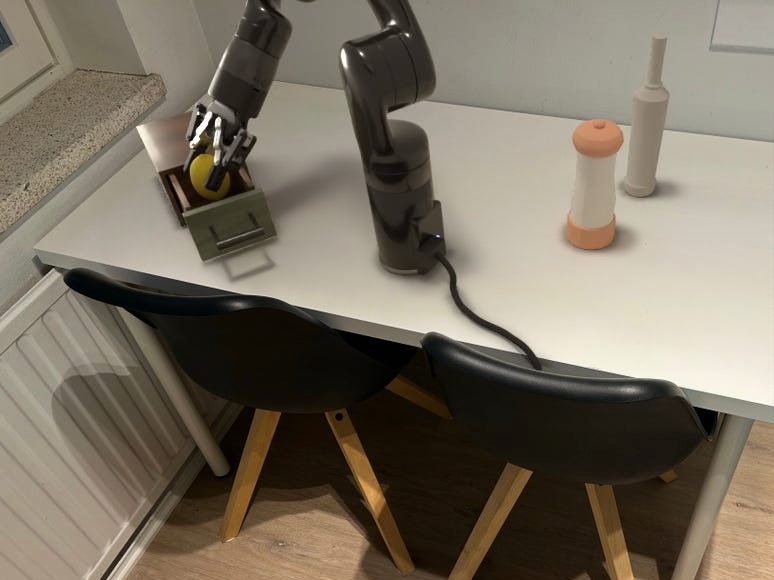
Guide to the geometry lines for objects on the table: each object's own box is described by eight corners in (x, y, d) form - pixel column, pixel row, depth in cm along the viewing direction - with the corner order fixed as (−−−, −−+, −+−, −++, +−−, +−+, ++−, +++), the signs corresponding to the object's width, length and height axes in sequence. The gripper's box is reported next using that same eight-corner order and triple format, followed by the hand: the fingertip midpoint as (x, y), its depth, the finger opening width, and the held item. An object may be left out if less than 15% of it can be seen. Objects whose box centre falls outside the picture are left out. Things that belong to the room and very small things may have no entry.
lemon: (227, 211, 110) (210, 166, 104) (194, 209, 111) (175, 163, 105) (242, 191, 114) (226, 146, 108) (210, 188, 115) (193, 143, 109)
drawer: (289, 255, 109) (275, 209, 103) (213, 283, 105) (193, 237, 99) (248, 188, 122) (233, 145, 116) (178, 211, 118) (159, 167, 112)
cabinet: (258, 200, 121) (240, 146, 114) (181, 226, 117) (157, 172, 110) (230, 156, 131) (213, 104, 124) (158, 178, 127) (136, 126, 120)
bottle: (652, 200, 116) (675, 45, 98) (620, 195, 117) (637, 41, 99) (657, 182, 119) (681, 29, 101) (626, 178, 121) (644, 26, 102)
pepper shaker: (600, 216, 114) (610, 102, 100) (622, 242, 109) (636, 126, 95) (558, 228, 112) (563, 114, 98) (579, 254, 107) (587, 139, 93)
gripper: (197, 51, 106) (154, 157, 109) (250, 81, 98) (202, 193, 102) (239, 73, 112) (197, 172, 115) (291, 103, 105) (245, 207, 108)
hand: (199, 181), depth 109 cm, fingers closed on lemon, 5 cm apart
